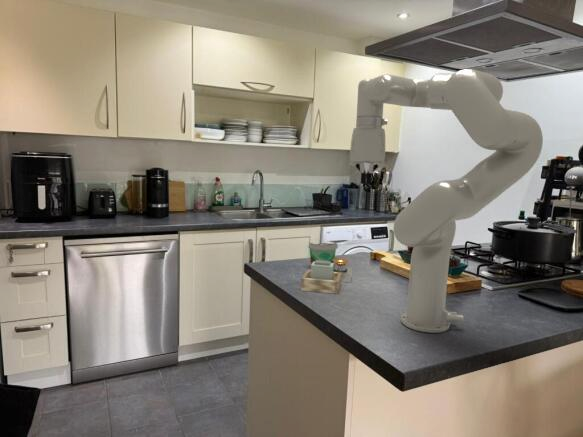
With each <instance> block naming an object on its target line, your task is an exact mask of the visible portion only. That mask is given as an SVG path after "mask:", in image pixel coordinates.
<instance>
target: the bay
mask: <svg viewBox="0 0 583 437" xmlns="http://www.w3.org/2000/svg"><path fill="white" fill-rule="evenodd" d="M300 282H301V285H300V286H301V287H300V290H301V291H304V292H305V291H306V292H313V293H314V292H315V293H323V294H324V293H325V294H333V295H334V294H336V295H338V294H339V292H340V288H341V285H342V282H341V273H340V272H333V280H322V279H311V269H306V271H305V272H304V274H303V276H302V277H301V281H300Z"/></svg>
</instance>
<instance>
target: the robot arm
mask: <svg viewBox="0 0 583 437" xmlns="http://www.w3.org/2000/svg"><path fill="white" fill-rule="evenodd" d="M503 94H504V87H503V85H502V82H501V80H500V79H499V78H498V77H497V76H495V75H493V74H490V73H487V72H484V71H480V70H477V69H473V68H465V69H464V68H463V69H461V70H458V71H455V72H454V73H442V72H441V73H436V74H435V75H433V76H432V77H431V78H430V79H417V78H416V79H414V78H407V77H403V76H398V75H393V74H382V75H379V76H377V77H373V78H366V79H365V78H364V79H362V80H360V81H359V83H358V85H357V102H356V121H355V122H356V123H355V127H354V128H353V130H352V134H351V135H352V136H351V141H350V150H349V151H350V152H349V162H348V165H349V166H350V167H353V168H356V169H357V170H358V171H359V172H360V174H361V175H360V184H362V187H363V188H364V187H367V188H368V187H369V185H371V184H372V175H373V173H374V172H375V171H376V170H377V169H378V168H379V169H380V168H385V167H386V162H385V161H386V160H385V159H386V131H385V128H383V126H385V125H386V126H387V125H388V119H384V118H383V117H384V104H386V105H396V106H402V107H410V108H423V109H425V108H426V109H427V108H429V109H431V110H443V111H444V110H446V111H452V113H453V115H454V116H455V117H456V119H457V120H458V122H459V124H460V125H462V127H463V129H464V130H465V131H466V133H467V134H468V135H469V137H470V139H471V140H472V141H473V142H474V143H475V144H476V145H478V147H480V148H483V149H485V150H490V151H494V152H493V153H492V154H490V155H489V156H487V157H485V158H484V159H483V160H481V161H480V162H479V163H477V164H476V165H475V166H474V167H473V168H472V169H471V170H469V171H468V172H467V173H465V174H464V175H463V176H461V177H460V178H456V179H450V180H449V179H447V180H446V179H445V180H440V181H437V182H435V183H433V184H430V185H429V186H428V187H426V188H424V190H423V191H422V192H420V193H419V194H418V195H417V196H416V197H415V198H414V199H413V200H412V201H411V202H409V203H408V204H407V205H406V206H405V207H404V208H403V209H402V210H401V211H400V212H399V213H398V214H397V216H396V218H395V219H394V223H393V234H394V237H395V238H396V240H397V241H398V242H399V243H400V244H401V245H403V246H406V247H409V248H412V252H411V256H410V266H409V278H408V292H407V293H408V294H407V305H406V306H407V307H406V311H405V312H402V314H400V319H399V320H400V322H401V323H402V325H404V326H405V327H406V328H408V329H412V330H414V331H418V332H422V333H431V334H432V333H443V332H446V331H448V330H449V329H450V326H451V322H456V323H464V320H465V319H464V318H465V317H464V314H457V311H448V310H447V308H446V301H447V300H446V299H447V288H448V277H449V270H450V269H449V267H450V258H451V253H452V246H453V243H454V240H455V235H456V229H457V224H456V221H461V220H462V221H463V220H466V219H470V218H472V217H474V216H475V215H477V214H478V213H479V212H481V210H483V209H484V208H485V207H487V206H488V205H489V204H490V203H492V202H493V201H494V200H496V199H498V197H499V196H502V194H503V193H504V192H506V191H507V190H508V189H509V188H510V187H512V186H513V185H515V184H516V183H517V182H519V181H520V180H521V179H522V178H523V177H524V176H525V175H527V174H528V173H529V172H530V171H531V170H532V168H534V166H535V164H536V163H537V161H538V159H539V158H540V155H541V154H542V153H541V152H542V149H543V142H544V141H543V140H544V139H543V132H542V129H541V126H540V124H539V123H538V121H537V119H535V118H533V117H532V116H531V115H529V114H527V113H524V112H520V111H516V110H512V109H510V110H509V109H505V108H504V107H503V105H502V104H501V103H500V102H501V100H502V98H503ZM365 163H369V165H368V166H369V167H368V170H367V172H366V169H365V168H366V167H365Z"/></svg>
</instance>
